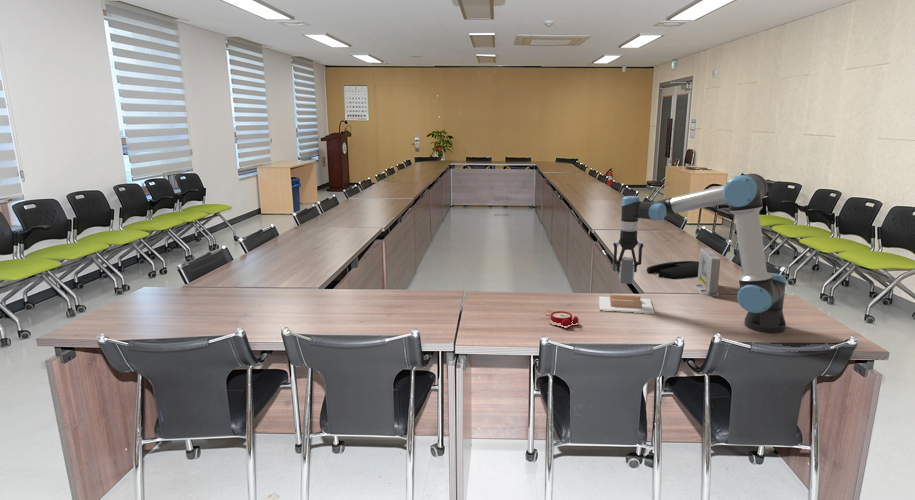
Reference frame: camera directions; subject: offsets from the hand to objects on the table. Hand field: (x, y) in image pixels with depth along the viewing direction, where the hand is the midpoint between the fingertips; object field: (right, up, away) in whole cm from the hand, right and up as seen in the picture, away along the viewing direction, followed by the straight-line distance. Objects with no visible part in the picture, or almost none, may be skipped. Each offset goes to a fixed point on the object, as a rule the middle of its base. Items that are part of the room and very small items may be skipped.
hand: (626, 278), depth 255 cm
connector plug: (0, -2, 0) cm, 2 cm away
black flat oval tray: (+52, 0, +62) cm, 81 cm away
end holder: (0, -13, +3) cm, 13 cm away
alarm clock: (-33, -19, -20) cm, 43 cm away
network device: (+49, -8, +25) cm, 56 cm away
